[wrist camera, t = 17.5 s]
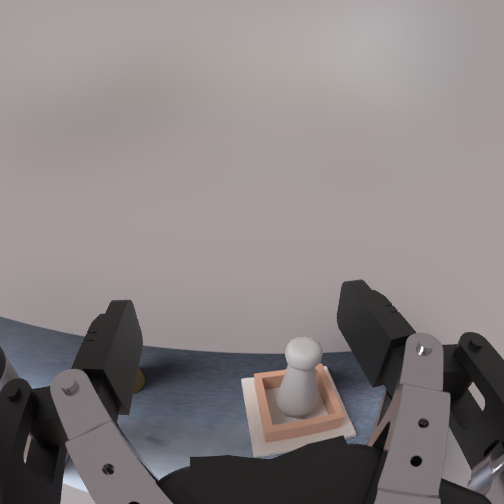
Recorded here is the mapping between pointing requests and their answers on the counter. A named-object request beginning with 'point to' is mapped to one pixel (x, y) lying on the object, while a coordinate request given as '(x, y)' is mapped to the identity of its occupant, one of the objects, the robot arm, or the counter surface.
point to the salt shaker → (300, 378)
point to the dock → (286, 428)
